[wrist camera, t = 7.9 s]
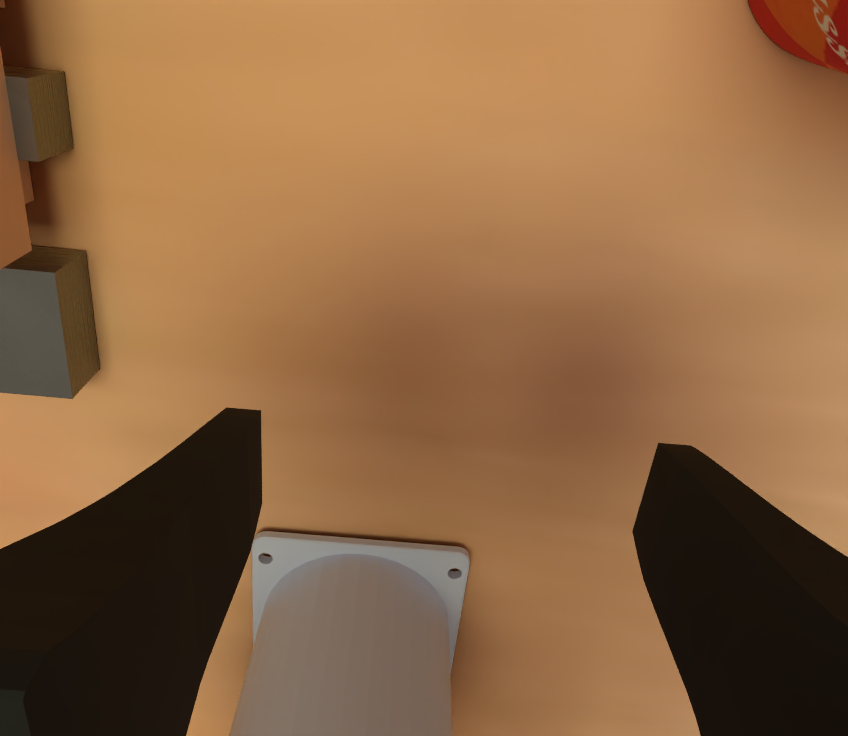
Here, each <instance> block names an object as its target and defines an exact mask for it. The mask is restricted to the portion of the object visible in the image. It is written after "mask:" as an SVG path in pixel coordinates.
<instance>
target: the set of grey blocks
mask: <svg viewBox="0 0 848 736" xmlns="http://www.w3.org/2000/svg"><path fill="white" fill-rule="evenodd" d="M3 67H4V73H5V80H6V86H7V93H8V99H9V106H10V112H11V118H12V125H13V131H14V138H15V144H16V150H17V157H18V160H25V161H35V162H39V161H42V160H45V159H47V158H50V157H52V156H55V155H57V154H60V153H62V152H65V151H68V150H70V149H73V141H72V132H71V124H70V116H69V107H68V99H67V91H66V82H65V74H64V72H63V71H54V70H45V69H36V68H26V67H17V66H8V65H3ZM31 247H32V250H31V251H30V252H28V253H26V254H25V255H23V256H22V257H20V258H18V259H17V260H15V261H13V262H12V263H10V264H8V265H7V266H5V267H4V268H2V269H0V392H1V393H12V394H23V395H35V396H46V397H57V398H68V399H73V398H74V397H75V395H76V394H77V393H78V392H79V391H80V390H81V389H82V388H83V387H84V386H85V384H86V383H87V382H88V381H89V380H90V379H91V378H92V377H93V376H94V375H95V373H96V372H97V371H98V370H99V369H100V366H99V357H98V349H97V341H96V332H95V324H94V316H93V307H92V299H91V291H90V282H89V274H88V266H87V257H86V251H83V250H73V249H63V248H53V247H42V246H32V245H31Z"/></svg>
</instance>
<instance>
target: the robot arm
mask: <svg viewBox="0 0 848 736" xmlns="http://www.w3.org/2000/svg"><path fill="white" fill-rule="evenodd" d="M261 506H262V456H261V410H249V409H236V408H226V409H224V410H223V411H222V412H220V413H219V414H218V415H216V416H215V417H214V418H213V419H211V420H210V421H209V422H207V423H206V424H205V425H204V426H202V427H201V428H200V429H199V430H197V431H196V432H195V433H194V434H192V435H191V436H190V437H189V438H187V439H186V440H185V441H184V442H182V443H181V444H180V445H178V446H177V447H176V448H174V449H173V450H172V451H171V452H169V453H168V454H167V455H165V456H164V457H163V458H161V459H160V460H159V461H157V462H156V463H154V464H153V465H152V466H150V467H149V468H147V469H146V470H144V471H143V472H141V473H140V474H138V475H137V476H135V477H134V478H132V479H131V480H129V481H128V482H126V483H125V484H123V485H122V486H121V487H119V488H118V489H116V490H114V491H113V492H111V493H110V494H108V495H106V496H105V497H103V498H101V499H100V500H98V501H96V502H95V503H93V504H91V505H89V506H87V507H86V508H84V509H82V510H80V511H78V512H76V513H75V514H73V515H71V516H69V517H67V518H65V519H64V520H62V521H60V522H58V523H56V524H54V525H52V526H50V527H47V528H45V529H43V530H41V531H39V532H36V533H34V534H32V535H30V536H28V537H26V538H23V539H21V540H19V541H17V542H15V543H12V544H10V545H8V546H6V547H4V548H2V549H0V736H186V734H187V730H188V726H189V723H190V719H191V715H192V712H193V708H194V705H195V701H196V697H197V694H198V690H199V686H200V683H201V680H202V677H203V674H204V671H205V668H206V665H207V662H208V659H209V657H210V654H211V652H212V649H213V647H214V644H215V641H216V639H217V636H218V634H219V631H220V629H221V626H222V624H223V621H224V618H225V616H226V613H227V611H228V608H229V606H230V603H231V601H232V598H233V595H234V593H235V590H236V588H237V585H238V583H239V580H240V577H241V575H242V572H243V569H244V567H245V564H246V562H247V559H248V556H249V554H250V551H251V547H252V596H253V650H252V653H251V657H250V661H249V664H248V668H247V672H246V675H245V679H244V683H243V686H242V690H241V694H240V698H239V701H238V705H237V709H236V712H235V716H234V720H233V723H232V727H231V731H230V734H229V736H452V709H451V682H450V675H451V669H452V663H453V658H454V652H455V646H456V640H457V634H458V629H459V623H460V617H461V611H462V606H463V600H464V594H465V588H466V582H467V577H468V571H469V565H470V560H469V553H468V552H467V550H465V549H464V548H462V547H457V546H445V545H432V544H420V543H408V542H395V541H383V540H371V539H359V538H346V537H334V536H322V535H309V534H297V533H285V532H272V531H262V532H260V533H258V534H257V535H256V536H255V537H254V535H255V531H256V527H257V523H258V518H259V514H260V510H261ZM633 536H634V541H635V545H636V550H637V555H638V559H639V563H640V567H641V571H642V575H643V579H644V582H645V585H646V588H647V591H648V593H649V596H650V598H651V601H652V604H653V606H654V609H655V611H656V614H657V617H658V619H659V622H660V624H661V627H662V629H663V632H664V635H665V637H666V640H667V642H668V645H669V647H670V650H671V652H672V655H673V657H674V660H675V662H676V665H677V668H678V670H679V673H680V675H681V678H682V680H683V683H684V685H685V688H686V690H687V693H688V696H689V699H690V702H691V705H692V708H693V711H694V714H695V717H696V720H697V724H698V727H699V731H700V735H701V736H848V557H847V556H845V555H843V554H842V553H840V552H839V551H837V550H836V549H834V548H833V547H831V546H830V545H828V544H827V543H825V542H824V541H822V540H821V539H819V538H818V537H816V536H815V535H813V534H812V533H810V532H809V531H807V530H806V529H805V528H803V527H802V526H800V525H799V524H797V523H796V522H795V521H793V520H792V519H791V518H789V517H788V516H786V515H785V514H784V513H782V512H781V511H780V510H778V509H777V508H775V507H774V506H773V505H771V504H770V503H769V502H767V501H766V500H765V499H763V498H762V497H761V496H759V495H758V494H757V493H755V492H754V491H753V490H752V489H750V488H749V487H748V486H746V485H745V484H744V483H742V482H741V481H740V480H738V479H737V478H736V477H735V476H733V475H732V474H731V473H729V472H728V471H727V470H725V469H724V468H723V467H721V466H720V465H719V464H717V463H716V462H715V461H713V460H712V459H711V458H709V457H708V456H706V455H705V454H703V453H702V452H700V451H699V450H697V449H696V448H694V447H693V446H689V445H676V444H664V443H658V446H657V449H656V453H655V456H654V459H653V463H652V466H651V470H650V473H649V477H648V480H647V483H646V487H645V490H644V494H643V497H642V501H641V504H640V507H639V511H638V514H637V518H636V521H635V525H634V528H633ZM253 539H254V540H253ZM252 543H253V544H252ZM262 553H267V554H270V555H271V556H270V557H267V556H264V555H263V554H262ZM453 568H457V569H459V570H458V571H454V572H453V571H450V569H453Z"/></svg>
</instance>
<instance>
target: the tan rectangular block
mask: <svg viewBox="0 0 848 736" xmlns="http://www.w3.org/2000/svg"><path fill="white" fill-rule="evenodd" d="M0 8H5V1H4V0H0ZM33 200H34V195H33V189H32V182H31V175H30V169H29V162H28V161H25V160H18V157H17V150H16V144H15V138H14V131H13V125H12V118H11V112H10V106H9V99H8V93H7V86H6V80H5V73H4V67H3V61H2V54H1V48H0V269H2V268H4V267H5V266H7V265H8V264H10V263H12V262H13V261H15V260H17V259H18V258H20V257H22V256H23V255H25V254H26V253H28V252H30V251H31V250H32V247H31V240H30V234H29V227H28V221H27V215H26V208H25V204H27V203H29V202H31V201H33Z"/></svg>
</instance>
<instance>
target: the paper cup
mask: <svg viewBox="0 0 848 736" xmlns="http://www.w3.org/2000/svg"><path fill="white" fill-rule="evenodd" d="M748 3H749V6H750V8H751V11H752V13H753V15H754V17H755V19H756V21H757V22H758V24H759V26H760V27H761V29H762V30H763V31H764V33H765V34H766V35H767V36H768V37H769V38H770V39H771V40H772V41H773V42H774V43H776V44H777V45H778V46H780V47H781V48H782V49H784V50H785V51H787V52H789V53H790V54H792V55H795V56H797V57H799V58H802V59H804V60H806V61H809V62H812V63H815V64H818V65H821V66H824V67H827V68H830V69H833V70H836V71H840V72H843V73H846V74H848V0H748Z"/></svg>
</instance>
